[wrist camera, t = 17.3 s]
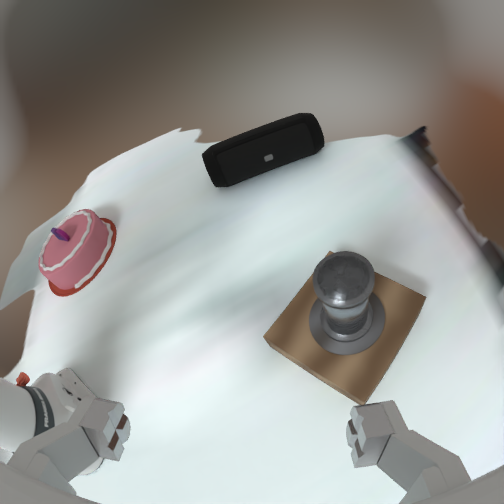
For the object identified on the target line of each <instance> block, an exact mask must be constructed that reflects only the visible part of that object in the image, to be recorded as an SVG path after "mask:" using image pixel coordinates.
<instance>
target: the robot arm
mask: <svg viewBox="0 0 504 504" xmlns="http://www.w3.org/2000/svg"><path fill="white" fill-rule="evenodd" d="M16 381H17V385H15V384H13V383H11V382H9V381H7V380H5V379H3V378H1V377H0V449H4V450H7V451H11V452H12V453H13V456H12V457H11V459H10V460H9V462H8V463H7V464H5V463H3V462H2V461H0V504H100V503H97V502H94V501H91V500H88V499H85V498H82V497H79V496H76V491H75V490H74V488H73V487H72V486H71V485H70V484H69V483H68V482H69V481H70V480H72V479H73V478H74V477H76V476H77V475H88V474H91V473H92V472H94V471H95V470H96V469H97V468H98V467H99V466H100V464H101V462H102V460H103V458H105V459H110V460H115V461H119V460H120V458H121V455H122V453H123V450H124V447H123V445H122V444H123V443H124V442H126V441H127V440H128V438H129V435H130V428H131V427H130V421H129V419H128V417H127V416H126V415H124V414H123V413H124V410H125V409H124V406H123V404H122V403H120V402H115V401H110V400H105V399H100V398H97V397H96V396H95V395H94V394H93V393H92V392H91V391H90V390H89V389H88V388H87V387H86V386H85V384H84V383H83V382H82V381H81V380H80V379H79V378H78V377H77V376H76V374H75V373H74V372H73V371H72V370H71V369H68V368H66V369H63V370H61V371H59V372H58V373H57V374H56V375H55V374H53V373H45V374H43V375H41V376H40V377H39V378H38V379H37V380H36V381H35V382H34V383H33V384H32V385H31V386H26V384H27V383H28V382H29V381H30V378H29V377H28V375H27V374H25V373H23V372H22V373H20V375H19V377H18V378H17V379H16ZM350 415H351V418H352V419H351V420H349V421H348V424H347V428H346V437H347V442H348V445H349V446H350V447H351V448H353V449H352V452H351V457H352V461H353V464H354V468H359V467H366V466H372V465H377V466H378V467H379V468H380V469H381V470H382V471H383V472H385V473H386V474H387V475H388V476H389V477H390V478H391V479H393V480H394V481H395V482H396V483H397V484H398V485H400V486H401V487H402V488H403V489H404V490H406V491H407V494H406V495H405V496H404V498H403V499H402V500H401V502H400V503H399V504H504V465H502V466H500V467H499V468H497V469H495V470H493V471H491V472H489V473H487V474H485V475H483V476H481V477H479V478H476V479H474V480H472V481H471V479H470V477H469V475H468V473H467V471H466V469H465V467H464V465H463V463H462V461H461V459H460V458H459V456H457V455H455V454H453V453H452V452H450V451H448V450H446V449H444V448H443V447H441V446H439V445H437V444H436V443H434V442H432V441H430V440H429V439H427V438H425V437H424V436H422V435H420V434H418V433H417V432H415V431H413V430H408V428H407V426H406V424H405V422H404V420H403V418H402V416H401V414H400V412H399V410H398V408H397V406H396V404H395V402H394V401H393V400H390V401H385V402H380V403H372V404H366V405H359V406H353V407H352V409H351V412H350Z"/></svg>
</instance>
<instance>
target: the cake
mask: <svg viewBox="0 0 504 504" xmlns="http://www.w3.org/2000/svg"><path fill="white" fill-rule="evenodd" d="M115 241H116V227H115V225H114V223H113V222H112V221H110V220H109V219H106V218H99V217H98V216H97V215H96V214H95V213H94V212H93V211H92V210H89V209H83V210H79V211H77V212H74V213H73V214H71V215H70V216H67V217H66V218H65V219H64V220H63V221H62V222H60V223H59V224H58V225H57V226H56V227H55V228H52V230H51V233H50V234H49V236H48V238H47V240H46V242H45V243H44V244H43V247H42V251H41V253H40V257H39V269H40V272H41V273H42V274H43V275H44V276H45V277H46V278H47V279H48V280H49V286H50V289H51V291H52V292H53V293H54V294H55V295H57V296H62V297H63V296H69V295H72V294H74V293H76V292H78V291H80V290H81V289H83V288H84V287H85V286H86V285H88V284H89V283H90V282H91V281H92V280H93V279H94V278H95V277H96V276H97V274H98V273H99V272H100V271H101V269H102V268H103V266H104V265H105V263H106V262H107V260H108V258H109V257H110V255H111V252H112V250H113V247H114V244H115Z"/></svg>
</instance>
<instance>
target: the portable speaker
mask: <svg viewBox="0 0 504 504" xmlns="http://www.w3.org/2000/svg"><path fill="white" fill-rule="evenodd" d="M322 147H324V136H323V133H322V130H321V127H320V125H319V123H318V121H317V119H316V118H315V117H314V115H313V114H311V113H298V114H295V115H292V116H289V117H286V118H283V119H280V120H277V121H274V122H271V123H269V124H266V125H263V126H261V127H258V128H255V129H252V130H250V131H247V132H244V133H242V134H239V135H237V136H234V137H232V138H229V139H227V140H224V141H222V142H219V143H217V144H215V145H212V146H211V147H209V148H208V149H207V150H206V151H205V152H204V153H203V154H202V158H203V161H204V164H205V167H206V169H207V172H208V174H209V176H210V178H211V180H212V182H213V184H214V186H215V187H229V186H231V185H233V184H236V183H238V182H241V181H243V180H246V179H248V178H251V177H253V176H256V175H259V174H261V173H264V172H266V171H269V170H272V169H274V168H277V167H280V166H282V165H285V164H288V163H290V162H293V161H296V160H299V159H301V158H304V157H307V156H310V155H313V154H315V153H316V152H318V151H319V150H320V149H321V148H322Z"/></svg>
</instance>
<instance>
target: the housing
mask: <svg viewBox="0 0 504 504" xmlns="http://www.w3.org/2000/svg"><path fill="white" fill-rule="evenodd" d="M374 283H375V274H374V270H373V267H372V265H371V264H370V262H369V261H368V260H367V259H366V258H364V257H363V256H361V255H359V254H357V253H354V252H348V251H343V252H336V253H333V254H331V255H329V256H327V257H325V258H324V259H323V260H321V261H320V262H319V264H318V265H317V266H316V268H315V270H314V273H313V287H314V290H315V293H316V295H317V297H318V298H319V299H320V300H321V301H322V304H323V307H322V310H321V314H320V320H321V325H322V328H323V330H324V332H325V333H326V334H327V335H328V336H329V337H330V338H332V339H333V340H335V341H338V342H344V343H347V342H353V341H356V340H358V339H360V338H362V337H363V336H364V335H365V334H366V333H367V332H368V331H369V329H370V327H371V325H372V321H373V310H372V306H371V304H370V303H369V296H370V295H371V293H372V291H373V288H374Z"/></svg>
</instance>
